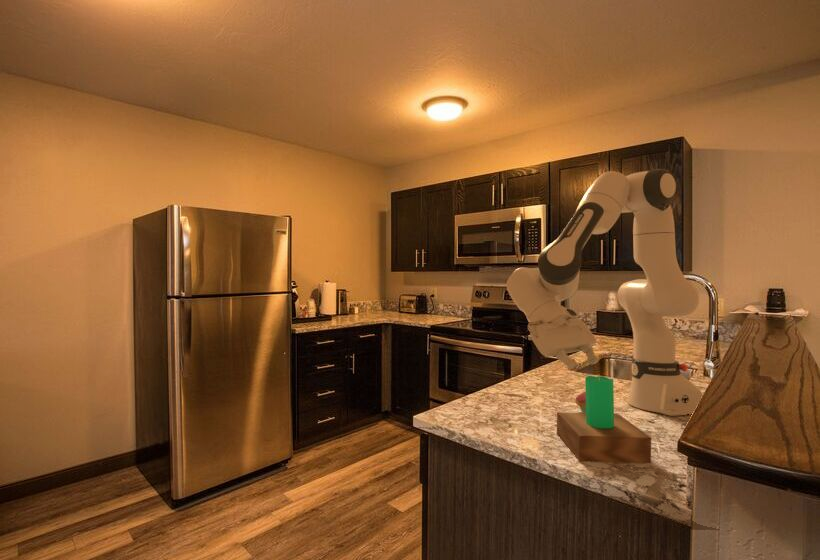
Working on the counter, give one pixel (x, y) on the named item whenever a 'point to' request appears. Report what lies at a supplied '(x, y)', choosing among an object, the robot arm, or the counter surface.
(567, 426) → the walnut block
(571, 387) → the counter surface
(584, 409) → the cupcake
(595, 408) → the candle
